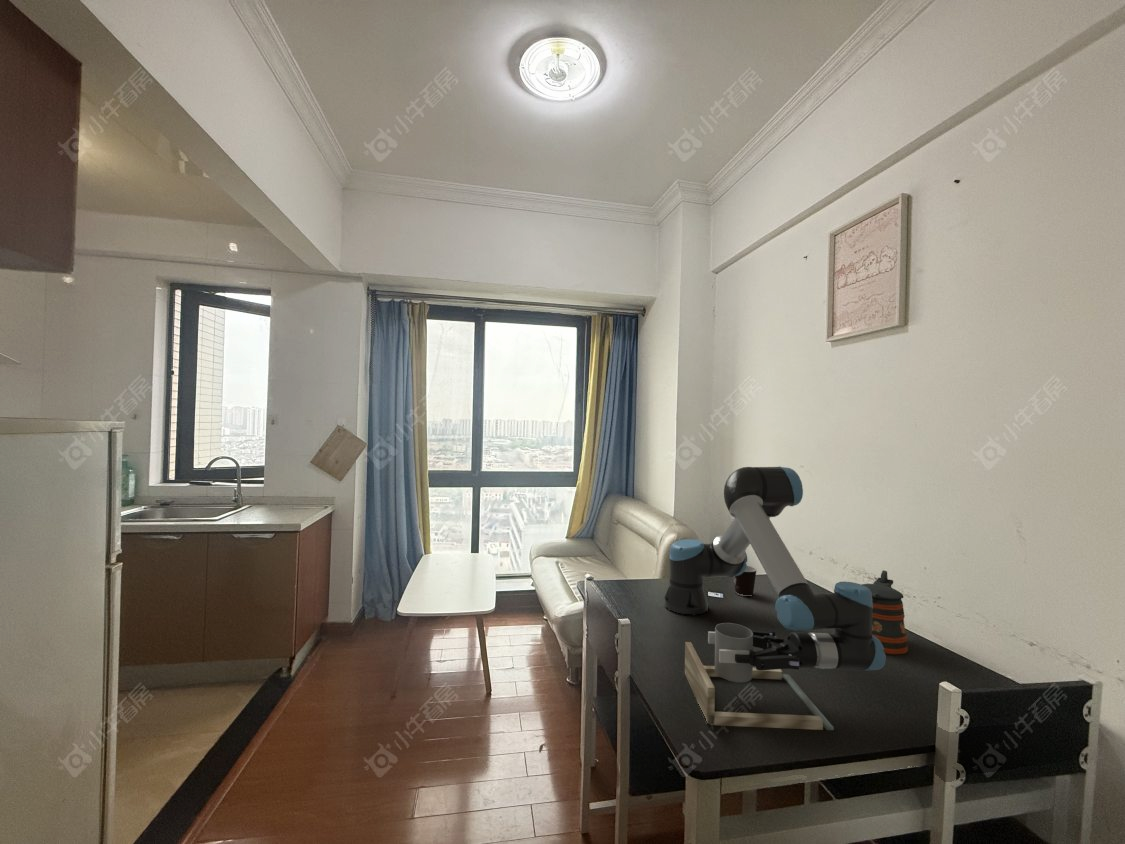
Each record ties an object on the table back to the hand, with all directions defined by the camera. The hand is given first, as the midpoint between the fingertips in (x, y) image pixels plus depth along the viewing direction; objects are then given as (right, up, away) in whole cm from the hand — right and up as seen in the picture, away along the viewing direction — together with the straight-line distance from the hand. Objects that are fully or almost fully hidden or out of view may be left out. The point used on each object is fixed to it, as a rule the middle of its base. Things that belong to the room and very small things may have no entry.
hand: (713, 646), depth 109 cm
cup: (+5, -6, 0) cm, 8 cm away
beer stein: (+61, -14, +31) cm, 70 cm away
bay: (+9, -12, 0) cm, 15 cm away
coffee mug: (+36, -14, +70) cm, 80 cm away
